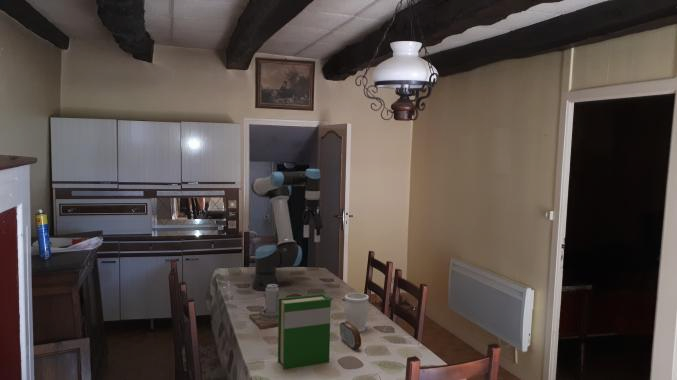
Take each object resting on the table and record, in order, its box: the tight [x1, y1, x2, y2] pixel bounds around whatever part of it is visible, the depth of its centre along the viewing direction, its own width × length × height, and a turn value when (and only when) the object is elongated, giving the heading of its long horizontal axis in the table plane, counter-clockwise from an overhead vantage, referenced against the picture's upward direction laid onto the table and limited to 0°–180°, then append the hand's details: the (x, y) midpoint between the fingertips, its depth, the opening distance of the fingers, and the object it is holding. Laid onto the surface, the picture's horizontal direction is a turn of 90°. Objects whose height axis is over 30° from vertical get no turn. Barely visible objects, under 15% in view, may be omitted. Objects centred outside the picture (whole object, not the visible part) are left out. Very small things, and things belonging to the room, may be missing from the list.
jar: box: [344, 292, 370, 333], centre depth 221 cm, size 11×10×15 cm
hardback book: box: [277, 293, 332, 371], centre depth 185 cm, size 18×7×24 cm, turn 114°
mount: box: [248, 308, 278, 330], centre depth 229 cm, size 16×16×4 cm
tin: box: [339, 320, 362, 350], centre depth 203 cm, size 15×3×8 cm, turn 25°
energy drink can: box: [264, 284, 280, 314], centre depth 228 cm, size 6×6×15 cm
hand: (311, 239), depth 261 cm, fingers open, 13 cm apart
